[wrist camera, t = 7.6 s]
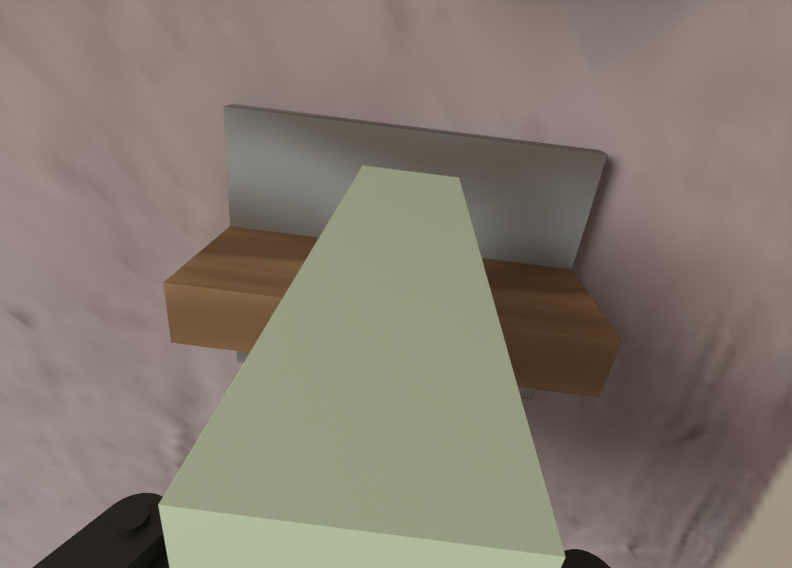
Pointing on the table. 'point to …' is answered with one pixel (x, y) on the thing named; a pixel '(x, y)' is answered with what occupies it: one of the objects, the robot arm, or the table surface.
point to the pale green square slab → (372, 409)
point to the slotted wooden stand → (417, 152)
